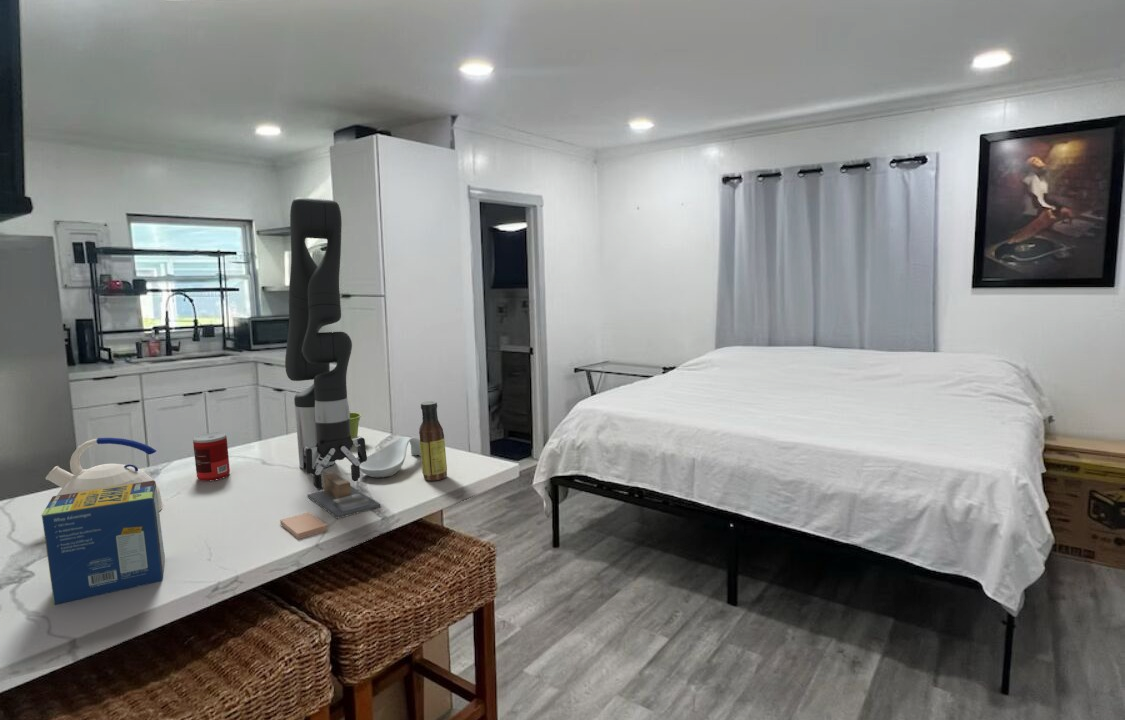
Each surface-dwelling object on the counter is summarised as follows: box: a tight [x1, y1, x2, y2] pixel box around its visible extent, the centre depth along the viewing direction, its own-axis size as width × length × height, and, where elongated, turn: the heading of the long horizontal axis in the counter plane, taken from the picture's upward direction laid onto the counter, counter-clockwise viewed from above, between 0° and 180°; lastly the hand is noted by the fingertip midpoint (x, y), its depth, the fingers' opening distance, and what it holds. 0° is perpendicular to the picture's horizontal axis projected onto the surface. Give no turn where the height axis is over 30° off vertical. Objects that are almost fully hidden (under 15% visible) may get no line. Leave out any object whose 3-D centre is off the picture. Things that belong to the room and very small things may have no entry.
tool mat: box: [307, 485, 381, 519], centre depth 146 cm, size 18×10×1 cm, turn 41°
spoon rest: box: [359, 436, 421, 479], centre depth 171 cm, size 24×12×7 cm, turn 161°
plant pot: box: [350, 412, 362, 439], centre depth 196 cm, size 9×9×9 cm
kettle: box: [45, 437, 164, 512], centre depth 139 cm, size 20×21×18 cm
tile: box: [279, 511, 328, 540], centre depth 132 cm, size 2×6×10 cm
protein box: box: [40, 479, 166, 605], centre depth 109 cm, size 10×15×16 cm
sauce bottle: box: [418, 400, 448, 482], centre depth 161 cm, size 7×6×20 cm
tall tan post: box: [322, 472, 369, 511], centre depth 146 cm, size 16×6×4 cm, turn 41°
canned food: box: [192, 432, 231, 482], centre depth 165 cm, size 8×8×11 cm
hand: (337, 484), depth 148 cm, fingers open, 8 cm apart
